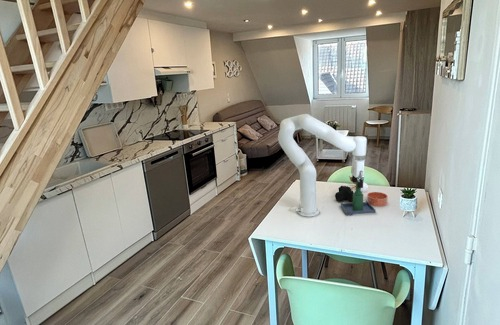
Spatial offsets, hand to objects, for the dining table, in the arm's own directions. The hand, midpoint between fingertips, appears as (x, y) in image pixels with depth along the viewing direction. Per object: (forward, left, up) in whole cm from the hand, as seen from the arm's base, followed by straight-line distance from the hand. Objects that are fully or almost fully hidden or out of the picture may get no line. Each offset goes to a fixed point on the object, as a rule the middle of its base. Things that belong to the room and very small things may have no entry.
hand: (357, 184), depth 186 cm
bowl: (+16, +8, -17) cm, 24 cm away
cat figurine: (+11, +34, -17) cm, 39 cm away
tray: (+1, 0, -17) cm, 17 cm away
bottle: (+1, 0, -16) cm, 16 cm away
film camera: (-3, +17, -17) cm, 24 cm away
